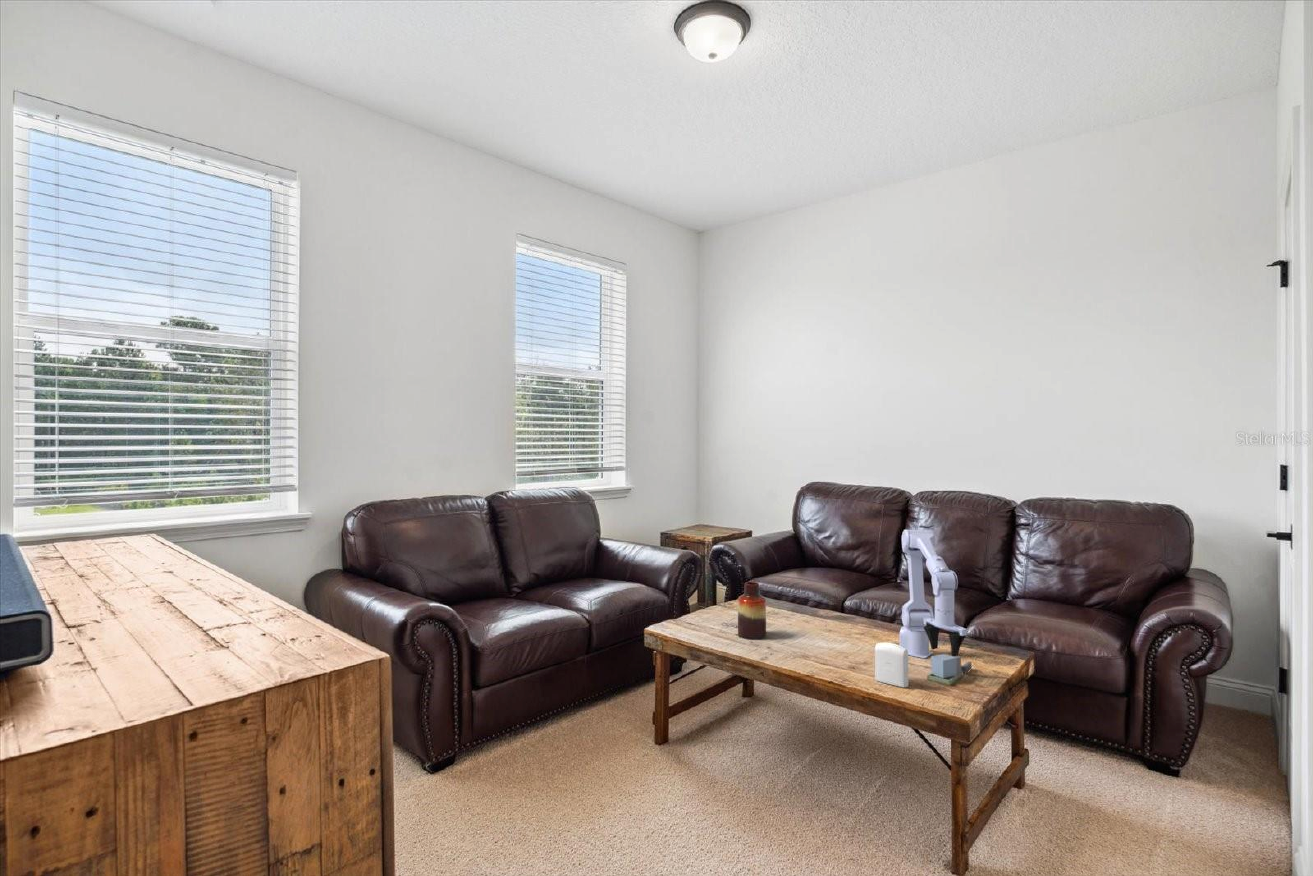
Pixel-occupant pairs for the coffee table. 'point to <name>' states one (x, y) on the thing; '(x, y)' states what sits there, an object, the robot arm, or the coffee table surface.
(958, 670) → the stepped two-tone block
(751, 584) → the vase
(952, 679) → the tray
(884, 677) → the photo printer
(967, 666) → the bay
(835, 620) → the coffee table surface
